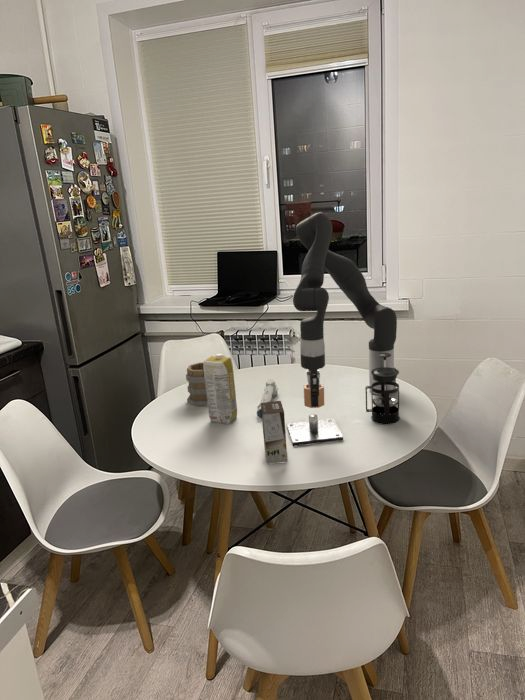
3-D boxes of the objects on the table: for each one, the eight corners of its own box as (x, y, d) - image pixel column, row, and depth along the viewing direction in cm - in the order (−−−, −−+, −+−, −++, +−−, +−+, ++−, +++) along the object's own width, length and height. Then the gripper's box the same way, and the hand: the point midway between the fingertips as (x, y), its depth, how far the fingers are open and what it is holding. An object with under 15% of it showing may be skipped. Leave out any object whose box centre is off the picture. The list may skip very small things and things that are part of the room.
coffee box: (288, 462, 153) (284, 412, 148) (266, 464, 152) (262, 414, 148) (284, 447, 162) (281, 400, 157) (264, 450, 161) (259, 402, 157)
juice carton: (240, 416, 187) (234, 352, 180) (230, 425, 180) (223, 360, 173) (217, 413, 191) (210, 351, 184) (206, 422, 184) (199, 358, 177)
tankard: (199, 408, 197) (195, 371, 192) (182, 400, 206) (177, 364, 202) (241, 393, 208) (238, 358, 204) (223, 386, 218) (220, 352, 213)
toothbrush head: (254, 408, 183) (264, 375, 205) (256, 424, 186) (266, 390, 208) (268, 408, 182) (277, 375, 205) (270, 424, 185) (279, 390, 207)
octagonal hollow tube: (304, 400, 169) (303, 381, 167) (323, 399, 168) (322, 380, 166) (304, 408, 162) (304, 388, 160) (324, 407, 162) (324, 387, 160)
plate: (333, 421, 177) (332, 404, 175) (343, 440, 163) (342, 422, 161) (286, 427, 176) (285, 410, 174) (292, 446, 162) (291, 427, 160)
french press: (399, 412, 180) (399, 349, 173) (403, 424, 171) (403, 357, 164) (365, 413, 181) (363, 350, 174) (367, 425, 172) (365, 359, 166)
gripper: (299, 345, 168) (301, 394, 172) (301, 359, 154) (303, 411, 159) (322, 344, 167) (324, 393, 172) (326, 358, 153) (328, 410, 158)
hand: (314, 402), depth 165 cm, fingers closed on octagonal hollow tube, 6 cm apart
